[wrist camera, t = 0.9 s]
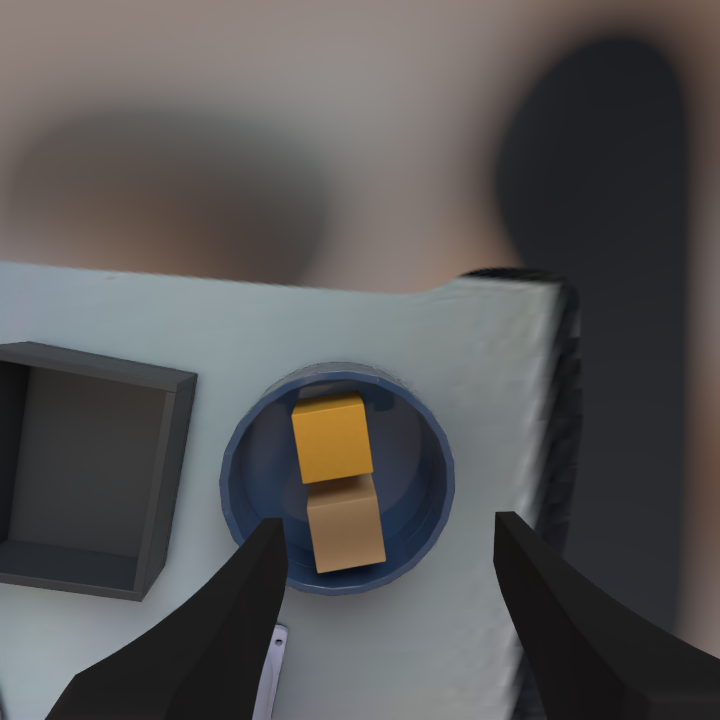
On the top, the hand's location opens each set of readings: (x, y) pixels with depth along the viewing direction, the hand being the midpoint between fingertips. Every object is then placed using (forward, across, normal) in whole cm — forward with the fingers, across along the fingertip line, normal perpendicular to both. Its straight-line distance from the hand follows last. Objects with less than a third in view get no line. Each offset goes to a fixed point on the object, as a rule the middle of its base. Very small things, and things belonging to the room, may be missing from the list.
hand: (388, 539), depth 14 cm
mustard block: (+13, +3, +2) cm, 13 cm away
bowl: (+13, +3, +5) cm, 14 cm away
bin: (+11, +18, +3) cm, 22 cm away
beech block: (+12, +3, +7) cm, 14 cm away
